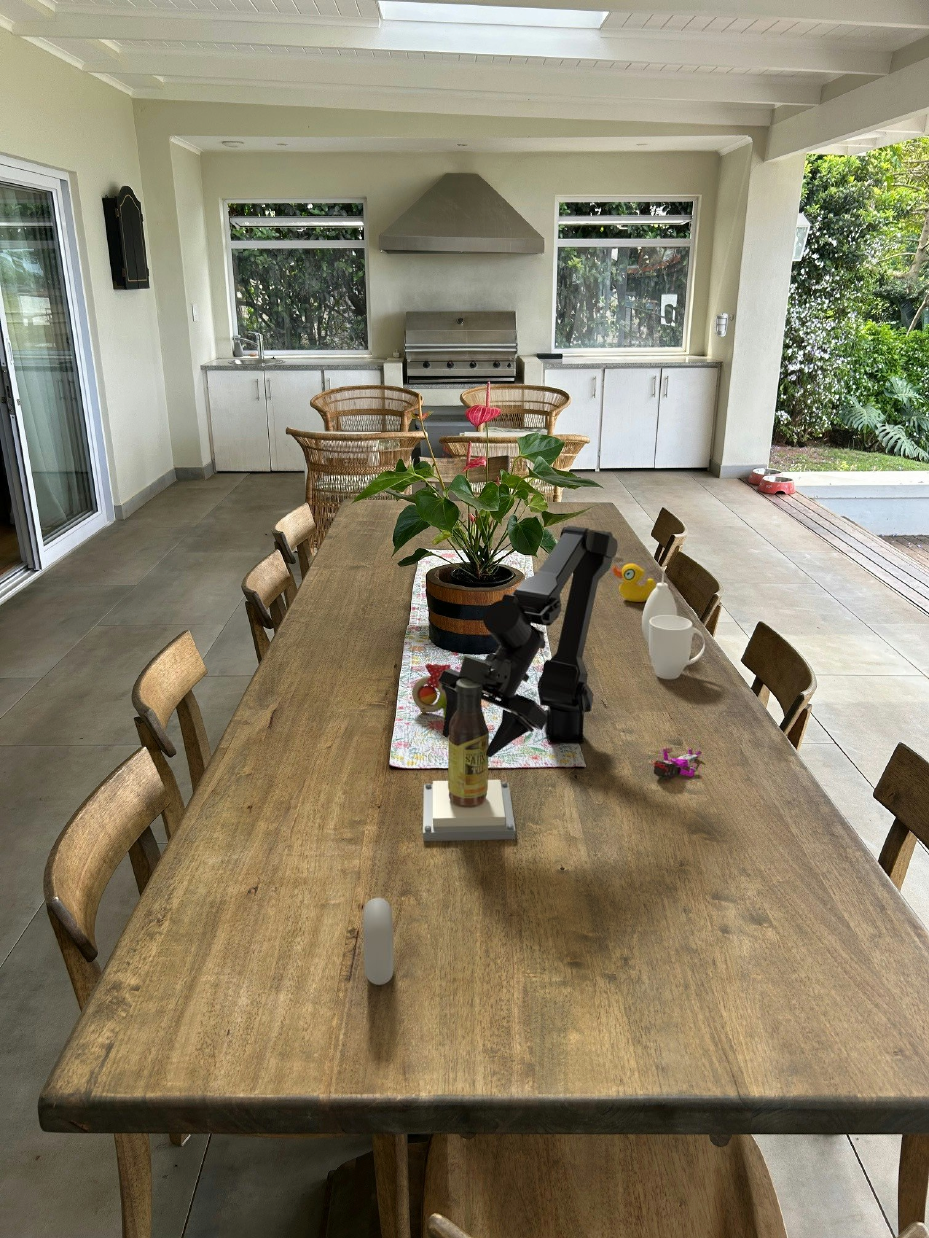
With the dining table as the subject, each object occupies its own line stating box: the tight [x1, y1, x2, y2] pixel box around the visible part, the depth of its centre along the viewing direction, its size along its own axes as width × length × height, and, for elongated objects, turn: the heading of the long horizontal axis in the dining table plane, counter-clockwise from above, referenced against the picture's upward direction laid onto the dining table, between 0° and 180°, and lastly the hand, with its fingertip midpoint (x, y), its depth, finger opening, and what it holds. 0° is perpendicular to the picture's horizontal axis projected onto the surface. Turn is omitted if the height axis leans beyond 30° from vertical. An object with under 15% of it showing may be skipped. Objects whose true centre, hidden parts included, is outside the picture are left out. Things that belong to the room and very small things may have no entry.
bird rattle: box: [411, 663, 452, 716], centre depth 178 cm, size 6×11×9 cm
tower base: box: [422, 779, 516, 842], centre depth 145 cm, size 14×14×3 cm
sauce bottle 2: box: [641, 572, 678, 644], centre depth 208 cm, size 8×8×18 cm
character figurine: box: [653, 747, 702, 780], centre depth 158 cm, size 6×5×12 cm
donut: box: [362, 897, 395, 986], centre depth 111 cm, size 10×4×10 cm, turn 4°
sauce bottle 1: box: [447, 678, 490, 806], centre depth 141 cm, size 7×6×20 cm
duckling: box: [612, 563, 657, 603], centre depth 239 cm, size 11×5×10 cm, turn 70°
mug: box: [648, 615, 706, 680], centre depth 195 cm, size 12×9×12 cm
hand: (465, 746), depth 141 cm, fingers open, 9 cm apart
